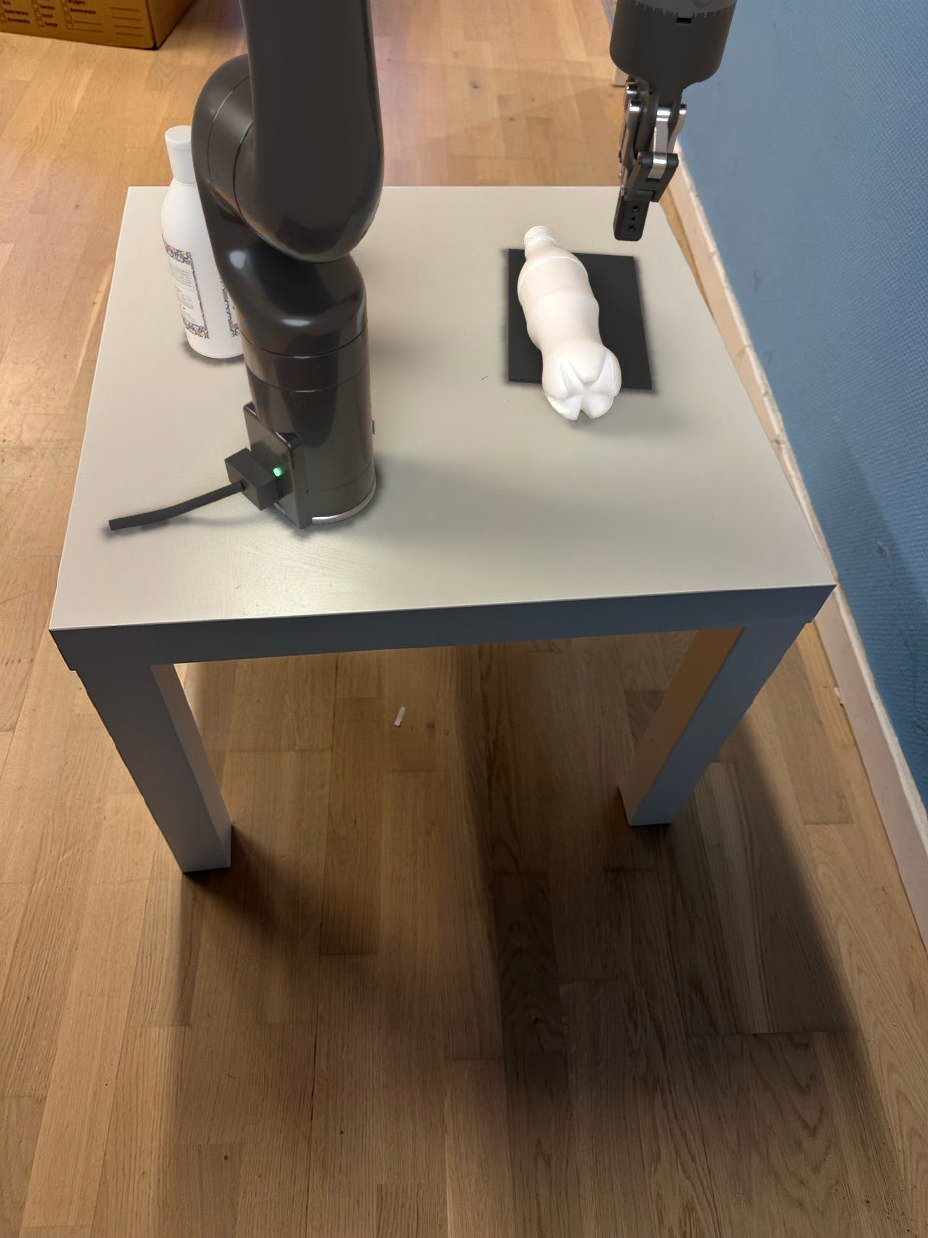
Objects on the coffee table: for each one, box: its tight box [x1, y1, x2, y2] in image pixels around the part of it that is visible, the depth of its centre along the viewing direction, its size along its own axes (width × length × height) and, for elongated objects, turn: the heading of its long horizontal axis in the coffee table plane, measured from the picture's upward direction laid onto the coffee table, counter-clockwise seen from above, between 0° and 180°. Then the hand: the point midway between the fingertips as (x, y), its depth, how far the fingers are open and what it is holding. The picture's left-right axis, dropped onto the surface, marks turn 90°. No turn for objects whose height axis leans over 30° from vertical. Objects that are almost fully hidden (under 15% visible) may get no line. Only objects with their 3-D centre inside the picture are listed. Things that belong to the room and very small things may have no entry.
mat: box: [508, 248, 653, 390], centre depth 94 cm, size 22×14×1 cm, turn 178°
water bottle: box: [517, 225, 622, 421], centre depth 87 cm, size 7×7×25 cm
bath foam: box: [160, 124, 244, 359], centre depth 81 cm, size 7×7×20 cm
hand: (626, 235), depth 71 cm, fingers closed
